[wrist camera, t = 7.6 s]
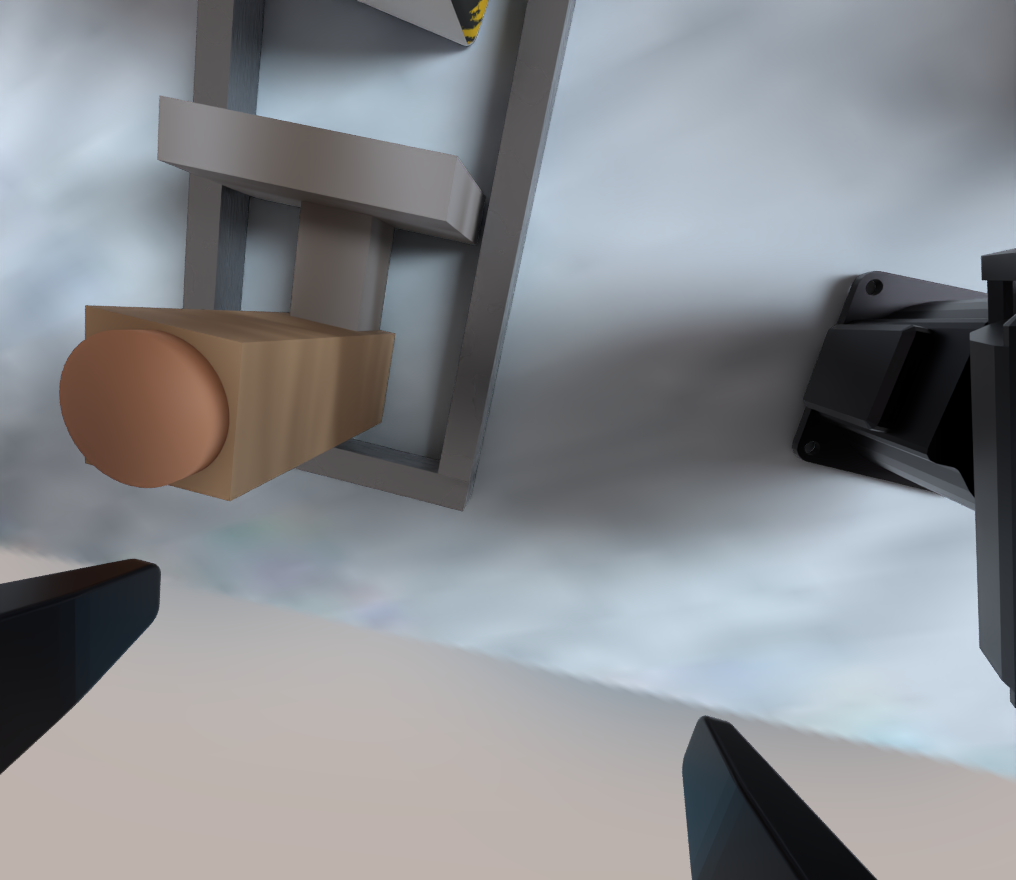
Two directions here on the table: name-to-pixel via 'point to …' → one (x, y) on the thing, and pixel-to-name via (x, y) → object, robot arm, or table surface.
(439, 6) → the medicine bottle
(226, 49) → the frame
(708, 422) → the table surface
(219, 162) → the press carriage
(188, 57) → the table surface
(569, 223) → the table surface
